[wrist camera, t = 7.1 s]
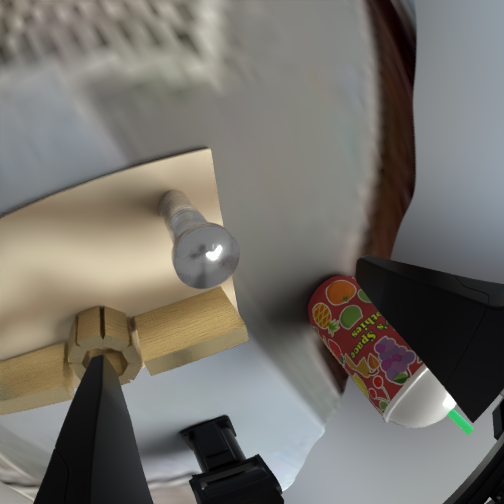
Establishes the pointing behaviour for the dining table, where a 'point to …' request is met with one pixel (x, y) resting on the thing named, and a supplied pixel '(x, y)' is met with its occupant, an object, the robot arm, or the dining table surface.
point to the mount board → (97, 251)
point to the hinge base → (156, 335)
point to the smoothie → (378, 357)
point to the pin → (197, 243)
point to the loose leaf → (36, 379)
